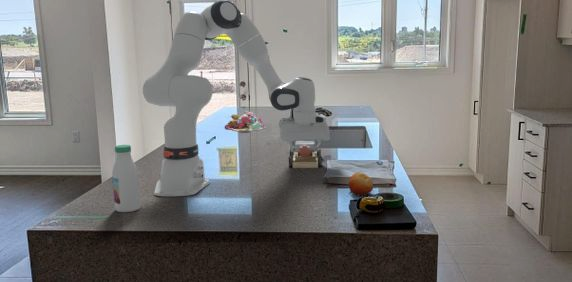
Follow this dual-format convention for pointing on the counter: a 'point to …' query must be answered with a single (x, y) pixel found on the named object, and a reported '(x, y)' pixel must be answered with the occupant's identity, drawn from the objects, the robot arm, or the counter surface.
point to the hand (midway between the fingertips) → (305, 151)
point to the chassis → (305, 161)
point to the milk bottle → (125, 181)
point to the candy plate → (245, 122)
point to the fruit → (360, 184)
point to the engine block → (304, 150)
